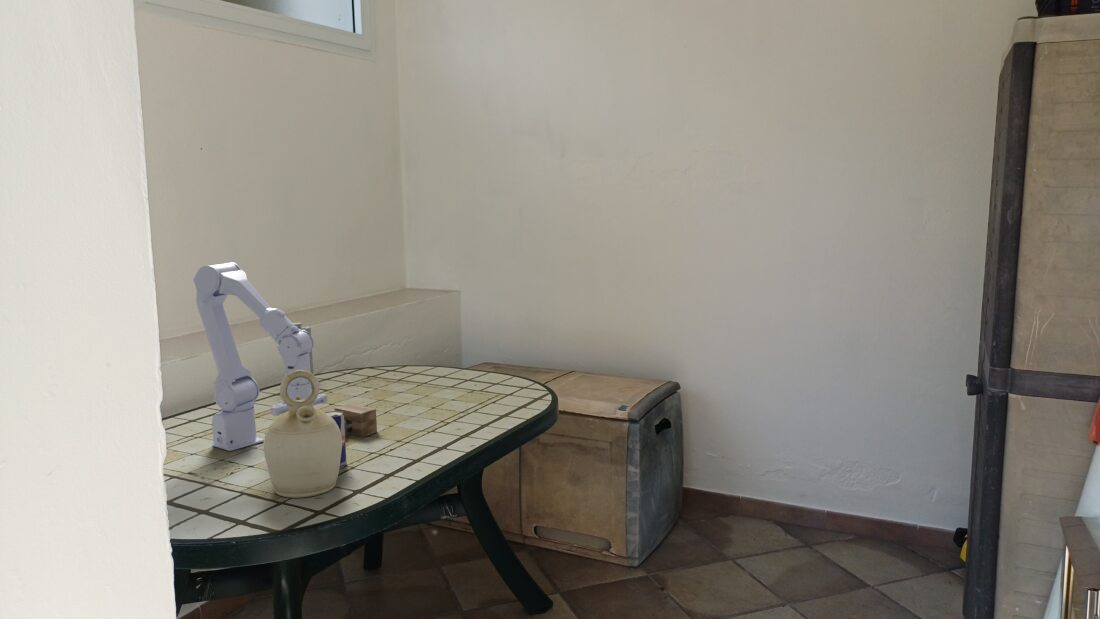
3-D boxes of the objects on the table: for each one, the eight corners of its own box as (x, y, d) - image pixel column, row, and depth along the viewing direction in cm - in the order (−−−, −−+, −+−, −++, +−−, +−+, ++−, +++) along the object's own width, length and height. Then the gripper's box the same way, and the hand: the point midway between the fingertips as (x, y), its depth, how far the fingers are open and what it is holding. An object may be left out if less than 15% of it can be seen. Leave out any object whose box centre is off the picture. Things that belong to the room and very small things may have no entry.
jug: (337, 499, 165) (330, 376, 161) (258, 503, 164) (249, 379, 160) (349, 473, 180) (343, 360, 176) (276, 476, 179) (269, 363, 175)
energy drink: (333, 471, 181) (330, 418, 180) (316, 467, 184) (313, 415, 182) (351, 464, 186) (348, 412, 184) (334, 460, 189) (331, 409, 187)
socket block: (361, 437, 206) (360, 413, 205) (335, 430, 212) (334, 407, 211) (377, 432, 210) (375, 409, 209) (351, 425, 216) (350, 403, 215)
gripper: (282, 391, 188) (286, 449, 190) (334, 378, 199) (337, 433, 201) (263, 387, 192) (267, 443, 194) (315, 375, 204) (318, 428, 206)
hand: (302, 438), depth 198 cm, fingers closed
